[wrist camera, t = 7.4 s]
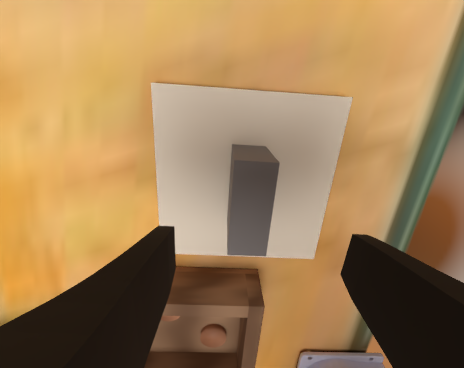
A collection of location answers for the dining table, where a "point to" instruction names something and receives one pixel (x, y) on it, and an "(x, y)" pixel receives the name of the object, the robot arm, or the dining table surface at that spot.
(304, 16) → the dining table surface
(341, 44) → the dining table surface
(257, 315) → the walnut box
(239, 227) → the cream lid
